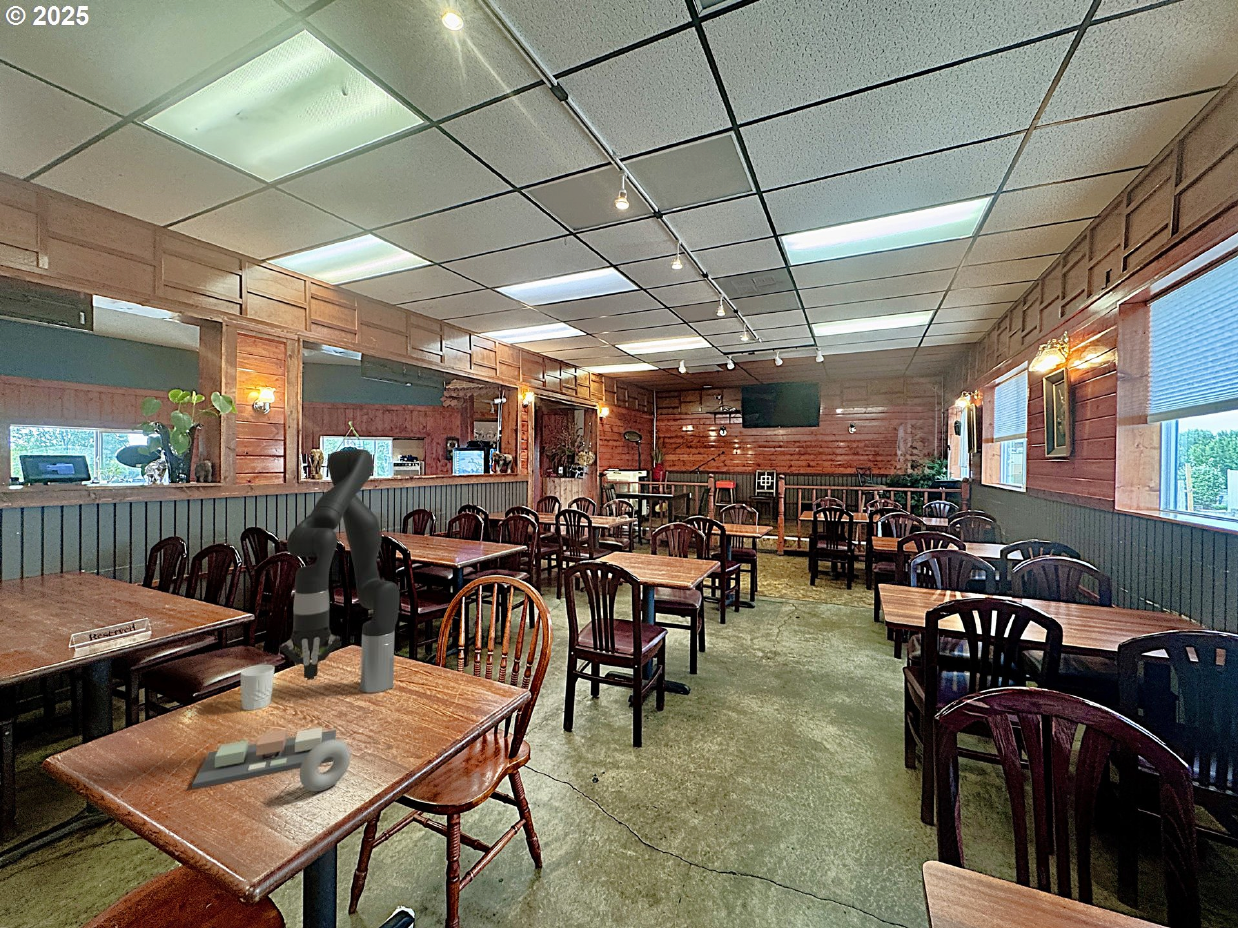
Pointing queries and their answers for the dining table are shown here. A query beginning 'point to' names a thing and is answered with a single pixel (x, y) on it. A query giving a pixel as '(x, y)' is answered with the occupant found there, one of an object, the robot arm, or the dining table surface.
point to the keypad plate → (255, 764)
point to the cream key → (308, 739)
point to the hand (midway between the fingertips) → (310, 678)
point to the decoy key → (271, 743)
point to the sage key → (231, 753)
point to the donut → (316, 756)
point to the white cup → (256, 686)
